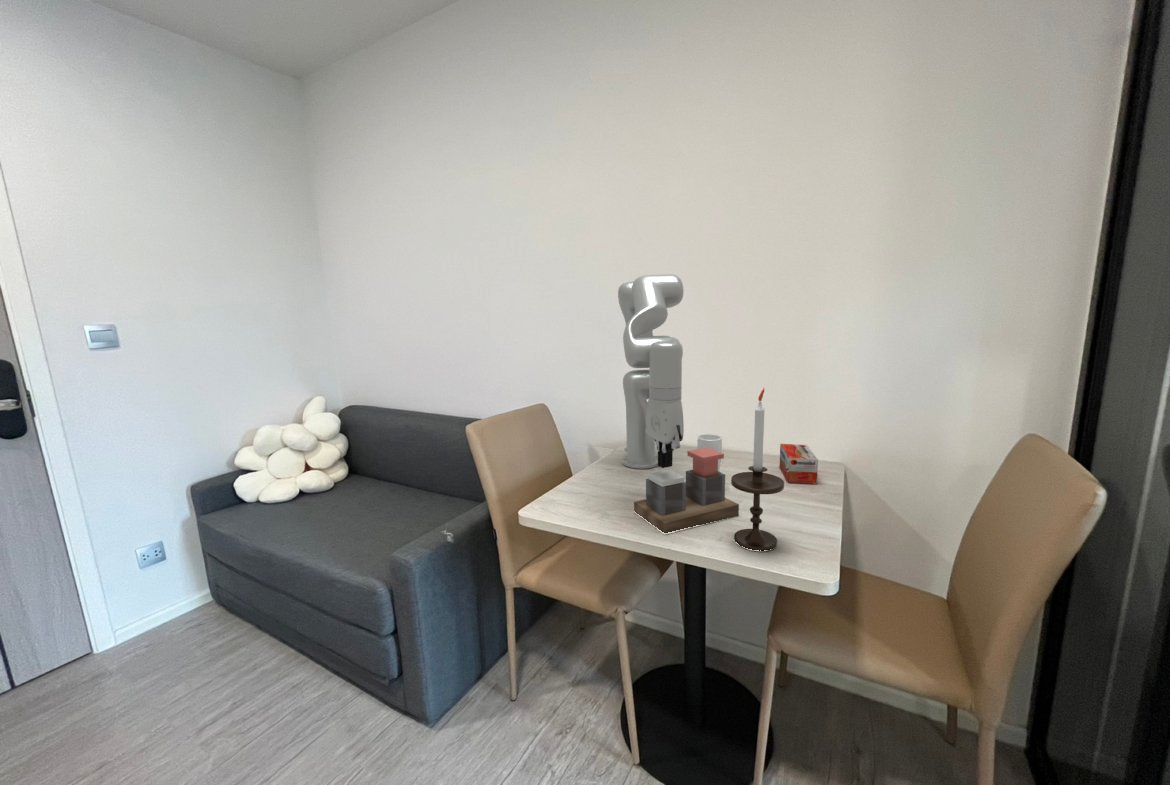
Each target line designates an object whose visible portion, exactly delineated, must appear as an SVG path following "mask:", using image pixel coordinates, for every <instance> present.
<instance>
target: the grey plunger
mask: <svg viewBox="0 0 1170 785" xmlns="http://www.w3.org/2000/svg"><path fill="white" fill-rule="evenodd" d="M647 479H649V480H651V481H653V482H654V483H656V484H658V485H660V486H661V487H664V486H669V485H673V484H678V483H682V482H685V477H684V476H683V475H680V474H679V473H677V472H675V471H673V470H671V469H665V470H660V471H656V472H655V471H654V472H651V473H647Z"/></svg>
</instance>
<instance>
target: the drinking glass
mask: <svg viewBox="0 0 1170 785" xmlns="http://www.w3.org/2000/svg"><path fill="white" fill-rule="evenodd" d="M707 447H708V448H710V449H713V450H715V451H718V452H721V453H723V450H722V448H723V441H722V436H720V435H718V434H714V433H713V434H712V433H703V434H700V435H698V436H697V448H696V449H702V448H707ZM721 460H722V459H718V471H719V472H720V470H721Z"/></svg>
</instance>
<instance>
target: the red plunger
mask: <svg viewBox="0 0 1170 785" xmlns="http://www.w3.org/2000/svg"><path fill="white" fill-rule="evenodd" d="M686 454H687V457H690V458H691V459H692V470H693V473H695V474H697V475H699V476H702V477H708V476H713V475H717V474H718V459H721V460H723V459H724V458H725V453H723V452H722V453H721V452H718V451H715V450H713V449H710V448H708V447H707V448H702V449H697V448H696V449H692V450H687V453H686Z"/></svg>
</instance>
